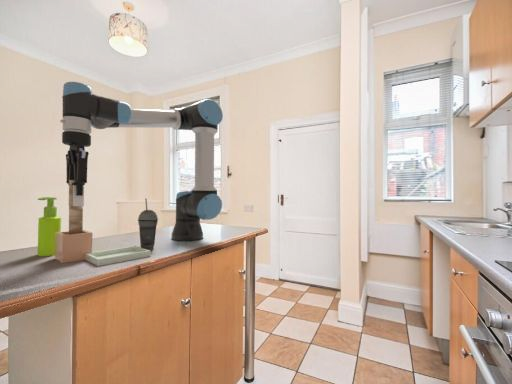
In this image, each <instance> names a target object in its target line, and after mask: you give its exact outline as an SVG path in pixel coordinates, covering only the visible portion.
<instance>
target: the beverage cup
mask: <svg viewBox="0 0 512 384" xmlns="http://www.w3.org/2000/svg"><path fill="white" fill-rule="evenodd" d="M144 200H145V209H144V210H143V211H141V212H140V214H139V215H138V219H137V221H138V226H139V227H138V229H139V241H140V248H144V249H147V250H150V251H153V250H154V247H155V243H156V241H155V240H156V232H157V231H156V230H157V226H158V225H157V224H158V220H159V218H158V214H157V212H155V211H154V210H152V209H149V208H148V201H147V200H148V199H147V198H145V199H144Z"/></svg>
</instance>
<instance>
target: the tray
mask: <svg viewBox="0 0 512 384" xmlns="http://www.w3.org/2000/svg"><path fill="white" fill-rule="evenodd" d="M151 252H152V250H147V249H144V248H141V246H136V245H135V246H134V245H133V246H125V247H118V248H112V249H111V248H110V249H107V250H106V249H104V250H98V251H92V253H86V254H85V260H86V261H87V262H89V263H90V264H91V263H92V264H93V265H95V266H97V267H98V266H99V267H100V266H105V265H110V264H116V263H120V262H121V263H122V262H126V261H132V260H137V259H143V258H147V257H151V254H152V253H151ZM85 260H84V261H85Z"/></svg>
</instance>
